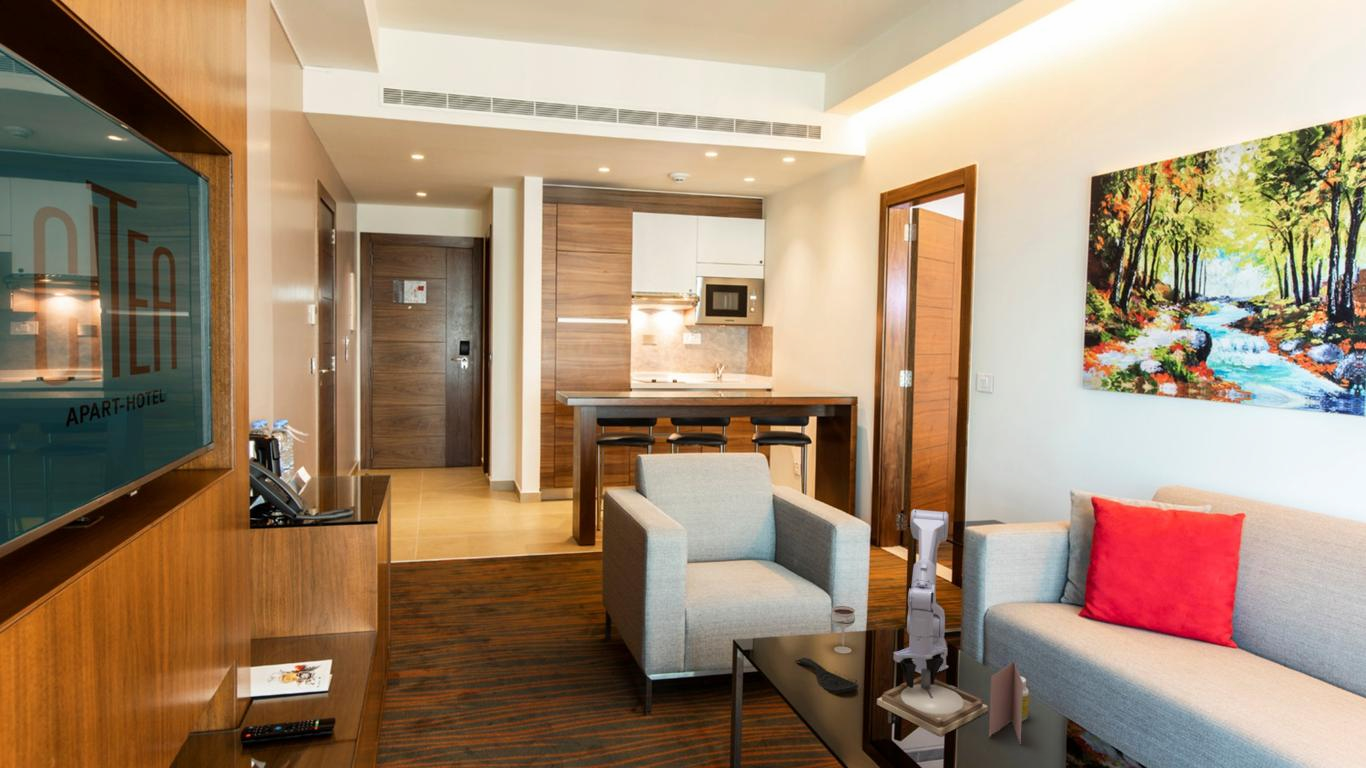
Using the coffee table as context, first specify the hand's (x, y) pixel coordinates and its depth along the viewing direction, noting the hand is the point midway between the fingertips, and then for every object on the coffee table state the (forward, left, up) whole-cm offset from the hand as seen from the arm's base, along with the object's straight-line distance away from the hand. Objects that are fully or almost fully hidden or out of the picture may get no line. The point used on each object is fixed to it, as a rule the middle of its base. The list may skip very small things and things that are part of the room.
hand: (919, 684), depth 213 cm
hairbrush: (+11, -23, -4) cm, 26 cm away
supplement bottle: (-11, +20, -4) cm, 23 cm away
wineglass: (-6, -32, -4) cm, 32 cm away
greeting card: (-3, +24, -4) cm, 25 cm away
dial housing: (+2, +5, -4) cm, 7 cm away
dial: (+2, +5, -2) cm, 6 cm away
